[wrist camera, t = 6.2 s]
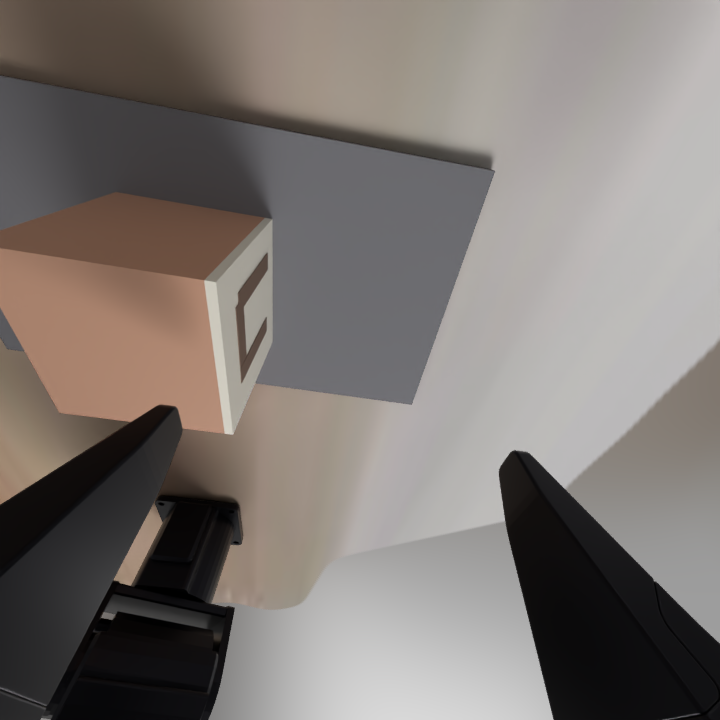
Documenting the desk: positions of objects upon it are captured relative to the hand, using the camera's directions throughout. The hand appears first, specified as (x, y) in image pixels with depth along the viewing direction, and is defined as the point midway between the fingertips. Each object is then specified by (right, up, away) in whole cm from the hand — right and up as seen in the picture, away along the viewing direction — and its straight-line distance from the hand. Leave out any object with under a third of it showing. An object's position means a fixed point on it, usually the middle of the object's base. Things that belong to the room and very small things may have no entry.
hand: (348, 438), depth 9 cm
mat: (-7, +6, +6) cm, 11 cm away
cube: (-4, +4, +4) cm, 6 cm away
